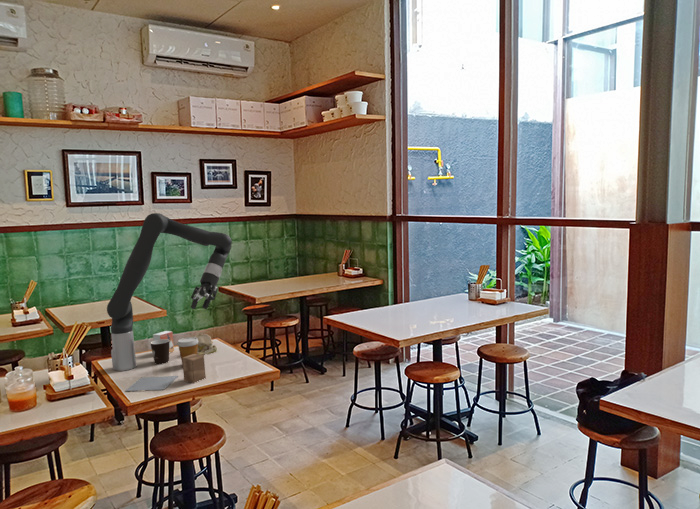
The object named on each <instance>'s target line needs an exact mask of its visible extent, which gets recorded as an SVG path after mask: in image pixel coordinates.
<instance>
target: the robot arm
mask: <svg viewBox="0 0 700 509" xmlns="http://www.w3.org/2000/svg"><path fill="white" fill-rule="evenodd" d="M160 234H168V235H172V236H176V237H178V238H182V239H183V240H185V241H186V240H187V241H188V242H191V243H194V244H197V245H201V246H205V247H209V246H214V251H213V252H212V254H211V255H210V257H209V258H208V262H207V264H206V266H205V268H204V271H203V273H202V274H201V278H200V281H199V282H200V286H195V287H194V289H193V292H192V293H191V297H190V299H192V302H191V305H190V309H192V310H196V308H197V306H198V303H199V301H200V300H201V299H203V298H204V297H205V299H204V301H203V304H202V306H201V307H202V308H203V309H204V310H207V309H208V308H209V305H210V302H212V301H214V300H215V299H216V296H217V293H218V290H219V287H218V286H217V285H218V283H219V281H220V278H221V276H222V272H223V269H224V266H225V264H226V263H225V262H226V261H227V258H228V256H229V255H230V252H231V249H232V244H233V240H232V238H231V236H230V235H228V234H227V233H225V232H224V233H223V232H217V231H210V230H209V231H208V230H206V229H203V228H199V227H197V226H192V225H188V224H185V223H181V222H179V221H176V220H173V219H171V218H169V217H167V216H166V215H163V214H162V213H157V212H155V213H154V212H153V213H149V214H148V215H147V216H146V217H145V219H144V220H143V224H142V227H141V229H140V232H139V237H138V238H137V241H136V243H135V245H134V247H133V249H132V251H131V252H130V255H129V257H128V258H127V262H126V264H125V265H124V268H123V270H122V273H121V274H122V275H121V276H120V280H119V282H118V285H117V287H116V289H115V290H114V293H113V295H112V297H111V298H110V300H109V302H108V303H107V305H106V306H107V307H106V313H107V315H108V316H109V318H111V326H110V334H111V344H112V349H111V351H110V354H111V363H112V364H111V365H112V370H113V371H117V372H123V371H130V370H132V369H135V368H136V367H137V359H136V358H137V357H136V349H135V341H134V340H135V339H134V329H133V327H134V326H133V325H134V313H133V304H132V301H131V300H132V298H133V295H134V293H135V291H136V290H137V288H138V287H139V285H140V283H141V282H142V280H143V279H144V277H145V276H146V273H147V271H148V269H149V266H150V263H151V261H152V256H153V250H154V247H155V244H156V242H157V240H158V238H159V236H160Z"/></svg>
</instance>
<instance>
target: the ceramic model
mask: <svg viewBox="0 0 700 509" xmlns="http://www.w3.org/2000/svg"><path fill="white" fill-rule="evenodd" d="M193 337H195V338H197V339H198V341H199V342H198V350H197V354H198V355H204V356H206V355H205V354H207V355H210V353H212V354H215V353H217V352H218V351H217V350H218V348H217V345H215V344H214V345H213V343H214V342H213V340H212V337H211V335H209V334H207V333H204V334H203V333H202V332H200V333H198V334H196V335H193ZM214 352H215V353H214Z"/></svg>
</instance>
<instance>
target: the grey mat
mask: <svg viewBox="0 0 700 509" xmlns="http://www.w3.org/2000/svg"><path fill="white" fill-rule="evenodd" d="M178 377H179V376H178V375H168V376H167V375H163V376H143V377H140V378H138V380H136V381H135V382H134V383H132V384H131V385H130V386H129V387H127V388H126V389H125V390H124V392H125V391H132V392H139V391H138V390H154V391H165V390H166V389H167V388H168V387H170V385H171V384H172V383H173V382H174V381H176V379H177V378H178ZM166 387H167V388H166ZM165 388H166V389H165ZM162 389H163V390H162ZM164 389H165V390H164Z"/></svg>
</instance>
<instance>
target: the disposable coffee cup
mask: <svg viewBox="0 0 700 509" xmlns="http://www.w3.org/2000/svg"><path fill="white" fill-rule="evenodd" d="M198 342H199V341H198V339H197V338H195V337H194V336H189V337H183V338H179V339H178V340H177V343H176V345H177V346H178V350H179V355H180V360H181V364H182V366H183V362H182V358H183V357H186V356H189V355H192V354H197V350H198Z"/></svg>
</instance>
